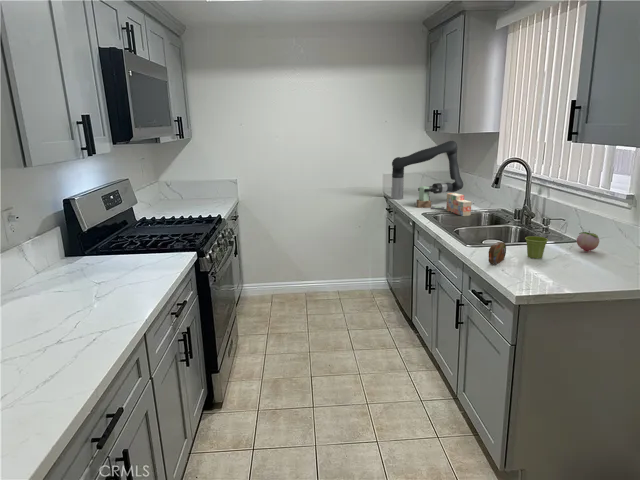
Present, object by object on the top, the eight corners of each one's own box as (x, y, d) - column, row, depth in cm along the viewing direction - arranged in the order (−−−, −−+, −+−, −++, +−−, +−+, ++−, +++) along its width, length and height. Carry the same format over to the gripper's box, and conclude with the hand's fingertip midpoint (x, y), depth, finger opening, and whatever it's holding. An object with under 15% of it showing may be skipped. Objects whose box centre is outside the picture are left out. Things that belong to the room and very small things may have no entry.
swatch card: (431, 208, 315) (431, 207, 315) (431, 207, 321) (432, 206, 321) (444, 209, 312) (444, 208, 312) (444, 207, 318) (444, 206, 318)
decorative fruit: (601, 252, 205) (604, 231, 202) (592, 255, 201) (595, 234, 198) (581, 247, 213) (583, 227, 210) (572, 250, 208) (574, 230, 206)
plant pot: (518, 255, 204) (520, 237, 202) (536, 253, 206) (538, 235, 204) (532, 261, 195) (534, 242, 193) (550, 258, 197) (553, 240, 195)
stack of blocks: (470, 215, 290) (472, 197, 287) (462, 216, 289) (463, 197, 286) (453, 209, 310) (454, 192, 307) (445, 210, 309) (446, 193, 306)
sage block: (423, 201, 319) (423, 187, 317) (418, 200, 324) (419, 186, 321) (428, 200, 322) (429, 186, 319) (424, 199, 326) (424, 186, 323)
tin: (493, 266, 189) (494, 248, 187) (486, 265, 191) (487, 246, 189) (506, 258, 200) (507, 240, 198) (499, 257, 202) (500, 239, 200)
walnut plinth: (418, 208, 320) (418, 201, 318) (416, 206, 328) (416, 199, 327) (431, 208, 319) (431, 201, 318) (428, 205, 328) (428, 199, 327)
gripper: (433, 182, 332) (415, 183, 325) (446, 184, 319) (428, 186, 312) (432, 191, 334) (415, 194, 327) (446, 194, 321) (427, 196, 314)
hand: (421, 190), depth 319 cm, fingers open, 6 cm apart
